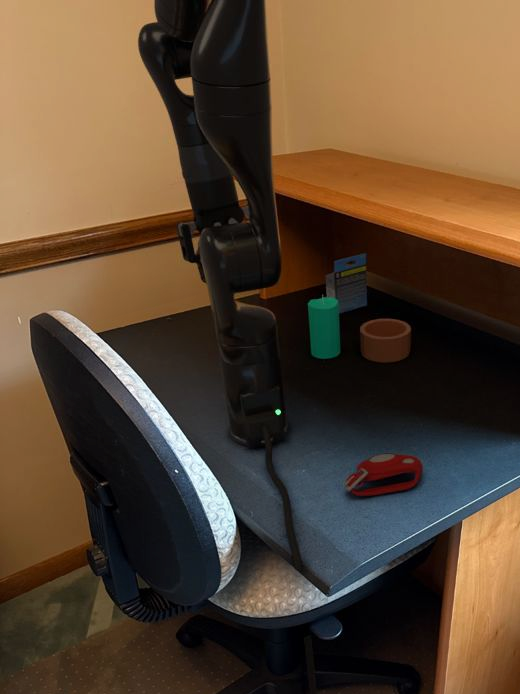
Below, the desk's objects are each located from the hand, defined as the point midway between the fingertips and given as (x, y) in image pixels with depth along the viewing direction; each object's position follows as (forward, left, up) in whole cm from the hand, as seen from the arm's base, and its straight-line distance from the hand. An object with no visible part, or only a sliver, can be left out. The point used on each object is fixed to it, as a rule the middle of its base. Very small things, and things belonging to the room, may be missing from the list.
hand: (233, 277), depth 113 cm
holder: (+2, -29, -20) cm, 36 cm away
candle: (+7, -18, -20) cm, 28 cm away
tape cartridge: (+27, -31, -21) cm, 46 cm away
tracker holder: (-38, -9, -20) cm, 44 cm away
